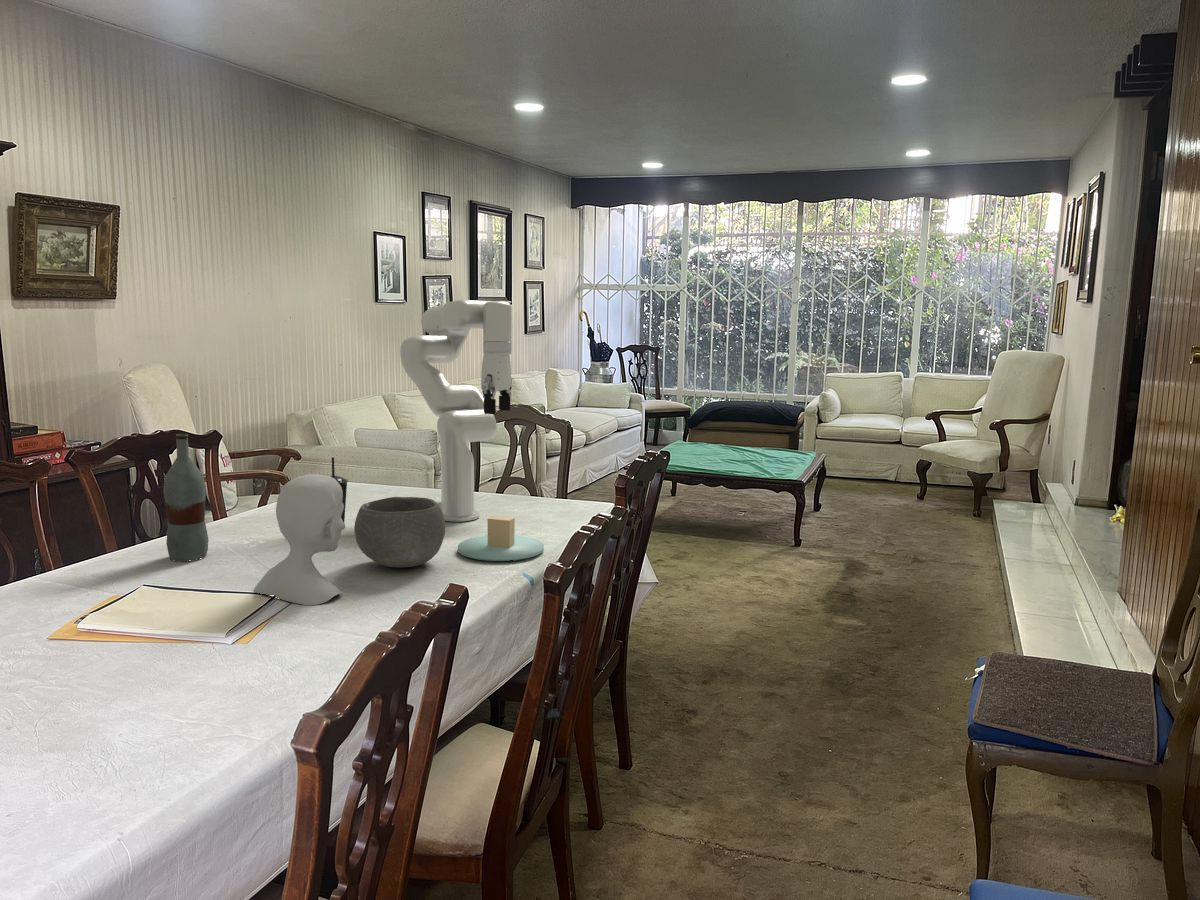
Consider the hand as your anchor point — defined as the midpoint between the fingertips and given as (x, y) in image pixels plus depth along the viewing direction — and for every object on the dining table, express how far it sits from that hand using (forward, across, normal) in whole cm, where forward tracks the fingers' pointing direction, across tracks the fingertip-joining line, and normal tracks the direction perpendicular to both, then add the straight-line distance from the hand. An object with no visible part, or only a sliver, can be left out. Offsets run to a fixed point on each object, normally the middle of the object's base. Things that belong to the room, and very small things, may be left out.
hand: (497, 412), depth 239 cm
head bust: (+34, +60, -17) cm, 71 cm away
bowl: (+34, +38, -8) cm, 51 cm away
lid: (+33, +18, +9) cm, 38 cm away
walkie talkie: (+34, +13, -43) cm, 56 cm away
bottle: (+34, +50, -59) cm, 84 cm away
